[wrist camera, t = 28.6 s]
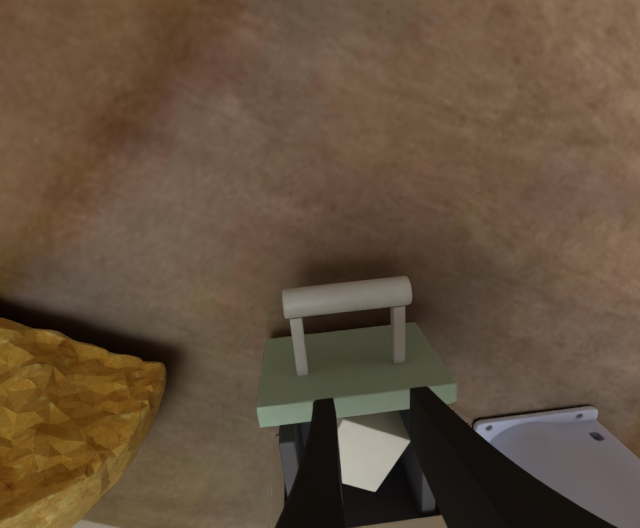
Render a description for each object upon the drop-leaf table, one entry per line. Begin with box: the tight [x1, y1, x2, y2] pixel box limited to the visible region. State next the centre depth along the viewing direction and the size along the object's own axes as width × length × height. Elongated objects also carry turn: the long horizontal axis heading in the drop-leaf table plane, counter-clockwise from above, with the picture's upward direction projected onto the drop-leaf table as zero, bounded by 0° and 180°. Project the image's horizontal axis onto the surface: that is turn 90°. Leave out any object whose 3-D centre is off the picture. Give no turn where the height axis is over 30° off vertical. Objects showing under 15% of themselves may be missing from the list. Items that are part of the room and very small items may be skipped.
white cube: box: [308, 410, 410, 492], centre depth 19 cm, size 4×4×4 cm
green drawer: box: [256, 276, 457, 528], centre depth 19 cm, size 15×9×6 cm, turn 5°
